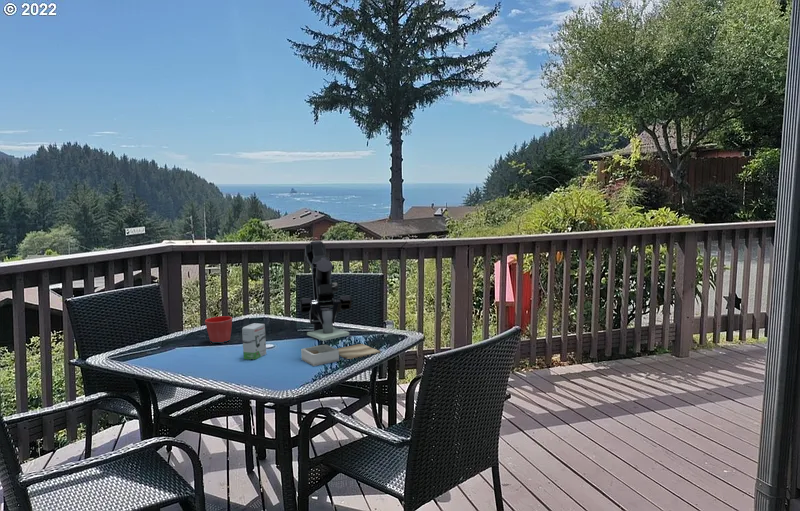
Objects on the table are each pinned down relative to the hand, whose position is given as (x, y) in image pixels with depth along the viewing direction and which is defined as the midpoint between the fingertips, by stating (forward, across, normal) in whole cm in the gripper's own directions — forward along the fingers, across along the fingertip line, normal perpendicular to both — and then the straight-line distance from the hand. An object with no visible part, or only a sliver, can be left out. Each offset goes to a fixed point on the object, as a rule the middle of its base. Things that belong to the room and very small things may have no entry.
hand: (328, 323), depth 211 cm
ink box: (+1, -26, +19) cm, 32 cm away
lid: (+2, 0, +4) cm, 5 cm away
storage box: (+9, -3, +10) cm, 14 cm away
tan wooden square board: (+5, +10, +14) cm, 18 cm away
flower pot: (-18, -41, +38) cm, 59 cm away
